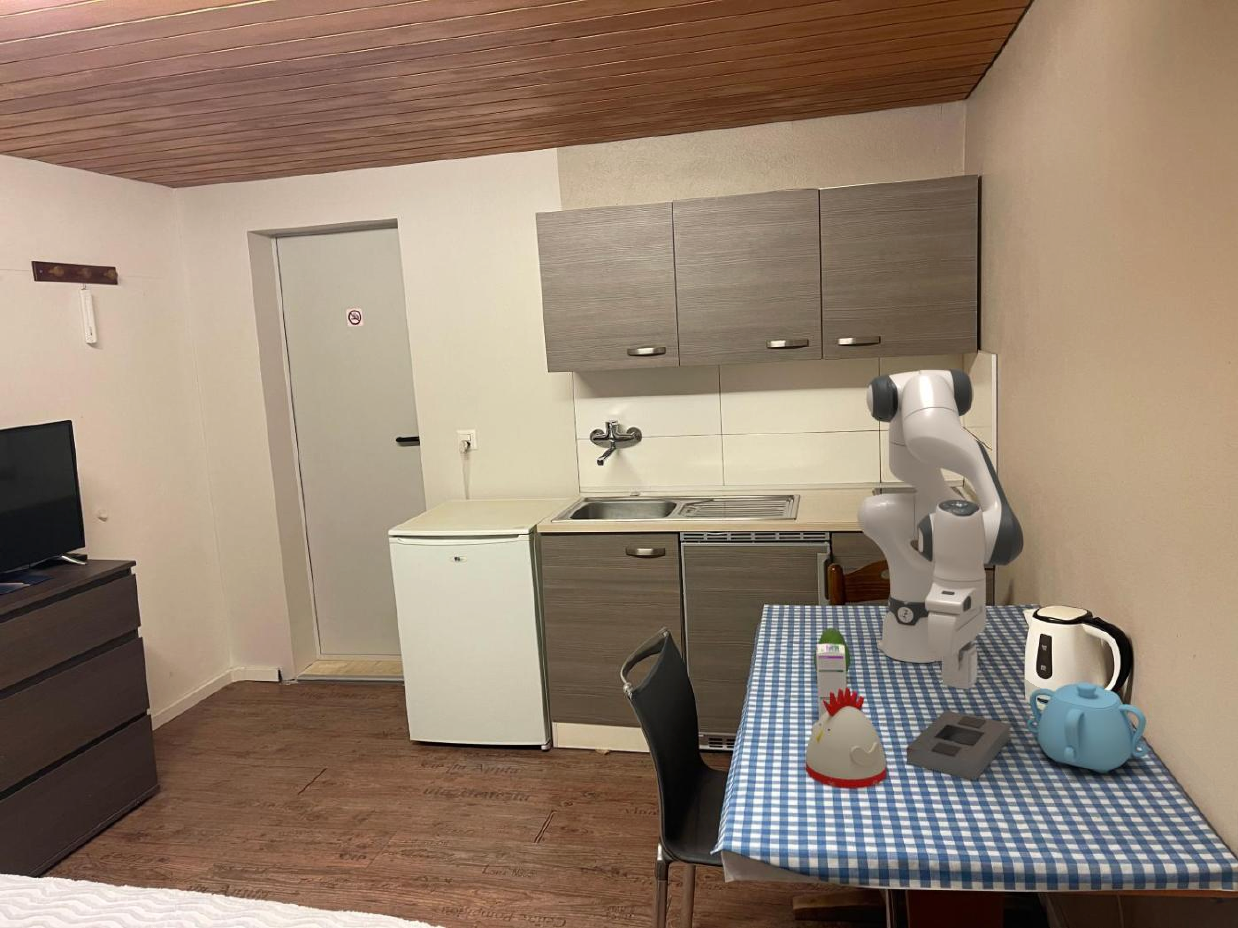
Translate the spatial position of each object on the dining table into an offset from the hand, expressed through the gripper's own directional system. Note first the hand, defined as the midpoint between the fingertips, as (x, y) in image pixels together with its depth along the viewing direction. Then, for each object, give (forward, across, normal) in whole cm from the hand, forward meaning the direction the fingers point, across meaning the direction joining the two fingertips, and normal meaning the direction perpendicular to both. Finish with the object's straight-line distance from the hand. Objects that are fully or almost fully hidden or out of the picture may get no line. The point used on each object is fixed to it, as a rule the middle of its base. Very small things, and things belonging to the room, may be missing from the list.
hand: (959, 666), depth 163 cm
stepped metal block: (+3, 0, 0) cm, 3 cm away
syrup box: (+16, -2, -26) cm, 31 cm away
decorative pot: (+16, -9, +19) cm, 27 cm away
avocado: (+16, -21, -35) cm, 44 cm away
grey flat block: (+16, 0, 0) cm, 16 cm away
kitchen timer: (+16, +18, -14) cm, 28 cm away
